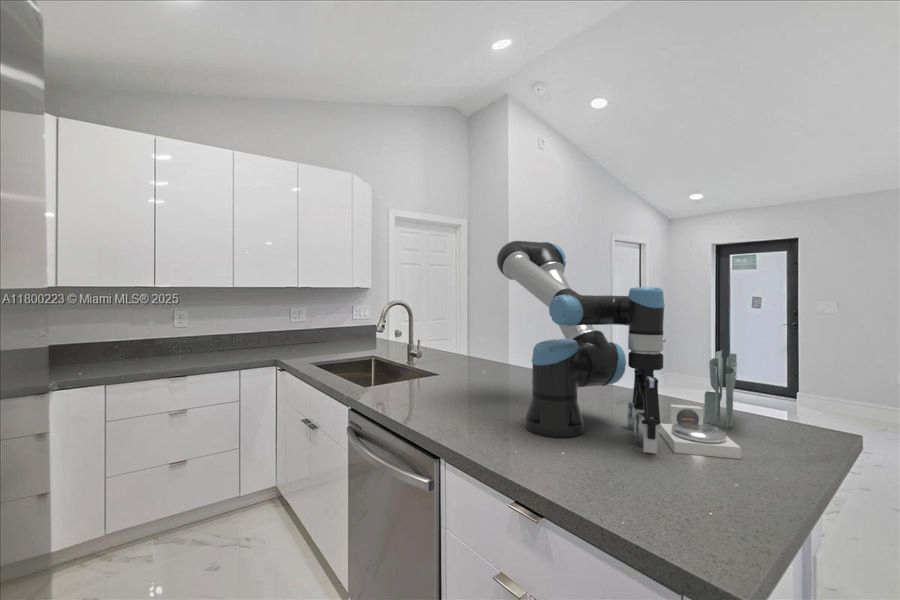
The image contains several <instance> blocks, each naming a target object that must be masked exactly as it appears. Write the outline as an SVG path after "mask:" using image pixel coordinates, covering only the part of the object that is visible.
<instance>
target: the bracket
mask: <svg viewBox="0 0 900 600" xmlns="http://www.w3.org/2000/svg"><path fill="white" fill-rule="evenodd" d="M722 353H723V349H721V350H718V351H716V352H715V353H714V354H715V355H714V357H713V358H711V359H710V360H709V366H708V367H709V378H710V379H709V380H710V386H711V388H712V389H713V390H714V391H707V390H706V391H705V392H704V408H703V424H709V425H710V424H711V425H716V426H719V422H720V421H721V401H722V398H723V383H724V382H723V381H724V380H723V376H724V373H723V372H724V371H723V370H724V369H723V367H724V366H723V365H724V361H723V356H722V355H723V354H722ZM737 363H738V362H737V353H728V357H727V358H726V374H725V404H726V406H725V408H726V410H725V412H726V413H725V416H726V421H725V422H726V425H725V426H726V429H729V427H730V428H733V426H734V425H733V424H734V390H735V389H734V388H735V387H736V381H737V367H738V364H737Z"/></svg>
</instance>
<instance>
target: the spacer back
mask: <svg viewBox="0 0 900 600" xmlns="http://www.w3.org/2000/svg"><path fill="white" fill-rule="evenodd" d="M632 401H633V400H628V401H627V402H626V404H627V407H626V410H627V411H626V412H627V413H626V428H627V429H628V430H630V431H633V432H634V409H636V408H634V404H633V402H632ZM643 410H644V409H643Z"/></svg>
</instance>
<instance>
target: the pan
mask: <svg viewBox="0 0 900 600" xmlns="http://www.w3.org/2000/svg"><path fill="white" fill-rule="evenodd" d="M716 428H717V427H712V426H708V425H704V424H703V425H699V424H691V423H679V424H674V425H672V433H673V434H675V435H677V436H679V437H682V438H685V439H688V440H692V441H698V442H705V443H721V442H724V441H726V436H727V434H726V432H725V431H723V430H721V429H719V428H717V429H716Z"/></svg>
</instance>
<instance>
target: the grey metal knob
mask: <svg viewBox="0 0 900 600" xmlns="http://www.w3.org/2000/svg"><path fill="white" fill-rule="evenodd" d="M651 418H653V417H651ZM642 420H645V417H644V413H636V422H635V435H634V438H635V440H634V441H635V445H637V446H639V447H643V433H644V424H642Z"/></svg>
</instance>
